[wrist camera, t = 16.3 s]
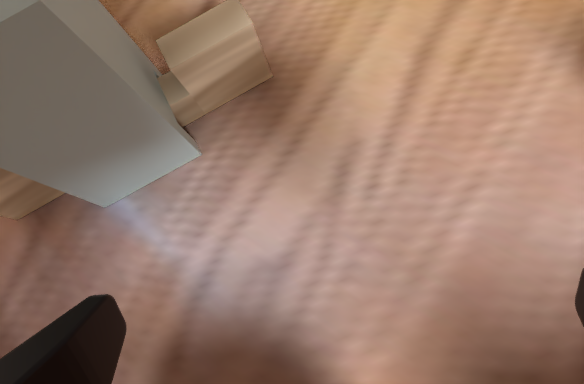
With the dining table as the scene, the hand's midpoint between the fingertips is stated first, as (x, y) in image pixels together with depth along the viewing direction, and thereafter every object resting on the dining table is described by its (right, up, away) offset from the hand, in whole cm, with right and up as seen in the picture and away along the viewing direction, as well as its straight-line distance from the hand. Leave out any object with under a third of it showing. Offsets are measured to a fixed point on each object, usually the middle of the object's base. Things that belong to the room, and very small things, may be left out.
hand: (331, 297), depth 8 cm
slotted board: (-10, +6, +17) cm, 21 cm away
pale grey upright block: (-10, +5, +17) cm, 21 cm away
